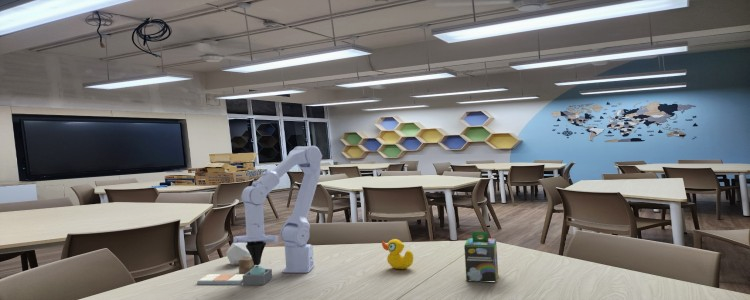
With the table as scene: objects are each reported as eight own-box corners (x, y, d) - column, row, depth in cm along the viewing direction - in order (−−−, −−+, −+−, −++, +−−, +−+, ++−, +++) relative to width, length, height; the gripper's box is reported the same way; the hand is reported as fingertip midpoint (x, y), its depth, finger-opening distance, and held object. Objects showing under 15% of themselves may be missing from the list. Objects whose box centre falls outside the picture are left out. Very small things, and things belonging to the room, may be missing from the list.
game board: (250, 277, 147) (249, 273, 147) (240, 284, 140) (240, 280, 140) (208, 277, 149) (208, 274, 149) (197, 284, 142) (197, 280, 142)
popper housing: (272, 277, 146) (271, 268, 146) (264, 284, 139) (263, 275, 139) (252, 277, 147) (251, 269, 146) (243, 284, 140) (242, 275, 140)
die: (237, 270, 159) (252, 246, 162) (218, 258, 160) (233, 235, 163) (244, 271, 167) (258, 249, 170) (225, 260, 168) (239, 238, 171)
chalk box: (498, 274, 139) (496, 227, 139) (496, 283, 130) (494, 234, 130) (468, 272, 142) (467, 227, 142) (465, 281, 134) (463, 233, 133)
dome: (267, 276, 145) (267, 263, 145) (262, 281, 140) (261, 268, 140) (253, 276, 145) (253, 263, 145) (247, 281, 141) (247, 268, 140)
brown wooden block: (254, 270, 155) (254, 256, 155) (250, 274, 151) (249, 260, 151) (244, 270, 155) (243, 256, 155) (239, 274, 151) (238, 260, 151)
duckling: (379, 269, 150) (378, 240, 150) (386, 264, 155) (385, 236, 155) (410, 272, 145) (408, 242, 145) (416, 267, 150) (415, 238, 149)
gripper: (228, 226, 139) (230, 268, 139) (271, 225, 137) (274, 267, 138) (238, 221, 146) (240, 261, 146) (279, 220, 144) (281, 261, 145)
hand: (257, 264), depth 142 cm, fingers closed
